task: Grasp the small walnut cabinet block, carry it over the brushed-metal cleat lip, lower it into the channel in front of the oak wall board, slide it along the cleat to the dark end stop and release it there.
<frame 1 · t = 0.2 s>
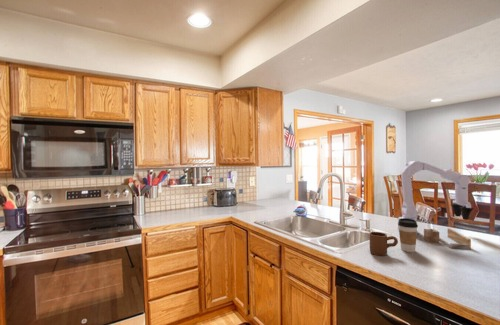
hand: (461, 217, 142), 10 cm above the worktop, tool pointing down, fingers open, 7 cm apart
mug: (383, 254, 116), on the worktop
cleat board: (450, 242, 130), on the worktop
cabinet block: (431, 241, 132), on the worktop
coffee cup: (408, 250, 120), on the worktop
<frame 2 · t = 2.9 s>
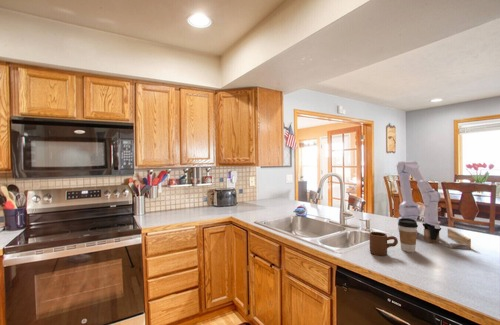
hand: (431, 238, 132), 2 cm above the worktop, tool pointing down, fingers closed on cabinet block, 4 cm apart
cabinet block: (431, 241, 132), on the worktop, touching gripper
everything else where it was.
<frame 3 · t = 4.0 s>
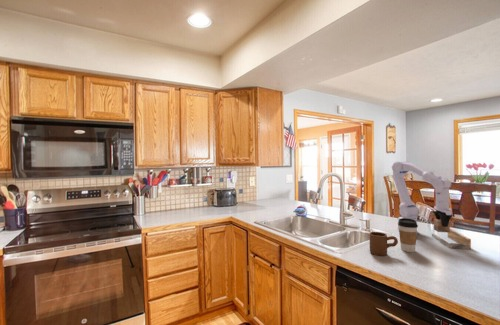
hand: (442, 225, 132), 9 cm above the worktop, tool pointing down, fingers closed on cabinet block, 4 cm apart
cabinet block: (441, 231, 132), point 6 cm above the worktop, touching gripper
everything else where it was.
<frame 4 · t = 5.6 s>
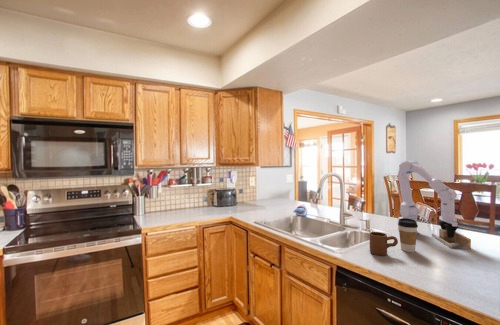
hand: (448, 236, 131), 3 cm above the worktop, tool pointing down, fingers closed on cabinet block, 4 cm apart
cabinet block: (447, 241, 131), resting in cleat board, touching gripper
everything else where it was.
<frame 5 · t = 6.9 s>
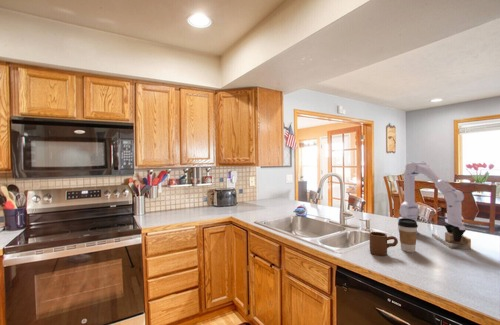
hand: (454, 239, 125), 3 cm above the worktop, tool pointing down, fingers closed on cabinet block, 4 cm apart
cabinet block: (453, 245, 125), resting in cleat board, touching gripper
everything else where it was.
when the fingers open (3 cm above the worktop, at t = 7.5 s): cabinet block stays where it is, resting in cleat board.
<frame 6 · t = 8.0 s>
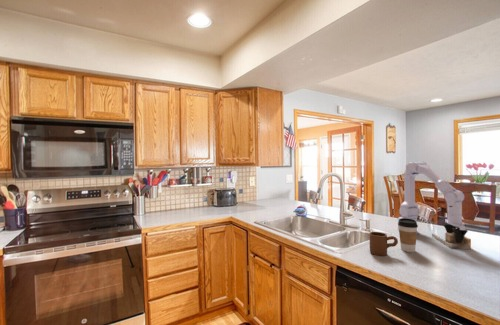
hand: (454, 240, 125), 3 cm above the worktop, tool pointing down, fingers open, 7 cm apart
cabinet block: (454, 245, 125), resting in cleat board
everything else where it was.
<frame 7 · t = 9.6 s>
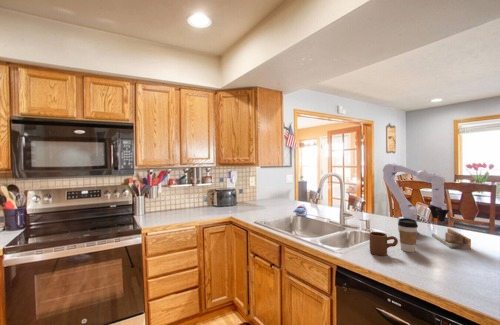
hand: (438, 219, 139), 10 cm above the worktop, tool pointing down, fingers open, 7 cm apart
nothing on the worktop moved.
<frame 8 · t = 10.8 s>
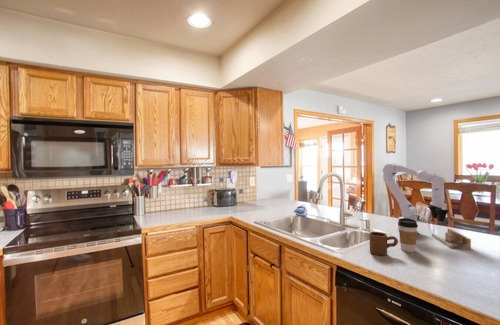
hand: (438, 219, 139), 10 cm above the worktop, tool pointing down, fingers open, 7 cm apart
nothing on the worktop moved.
at the end: cabinet block 0.4 cm from the target spot on the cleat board, point 0.0 cm above the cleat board's base; cabinet block tilted 0°; the gripper is holding nothing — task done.
